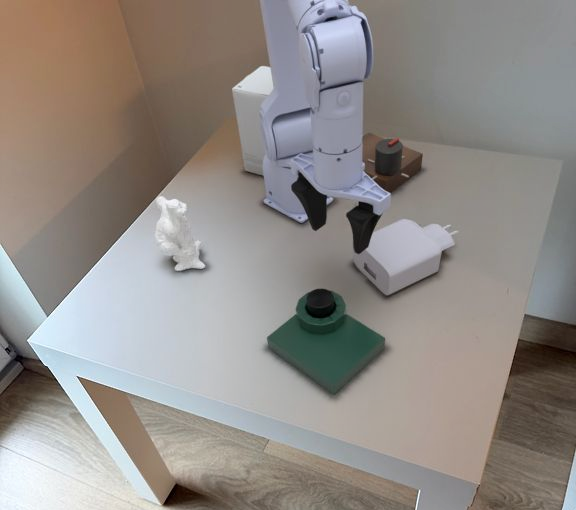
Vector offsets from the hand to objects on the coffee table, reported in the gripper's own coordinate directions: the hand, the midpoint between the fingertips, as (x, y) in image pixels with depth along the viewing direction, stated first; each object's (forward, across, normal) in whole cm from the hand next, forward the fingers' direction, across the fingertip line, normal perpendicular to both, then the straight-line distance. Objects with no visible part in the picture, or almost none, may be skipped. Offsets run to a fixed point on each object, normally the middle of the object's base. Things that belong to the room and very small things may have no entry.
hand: (339, 237), depth 72 cm
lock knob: (+6, +11, -24) cm, 27 cm away
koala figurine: (+9, +23, +11) cm, 27 cm away
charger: (+9, -4, -11) cm, 15 cm away
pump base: (+9, -6, +10) cm, 15 cm away
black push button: (+5, -3, +8) cm, 10 cm away
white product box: (+9, +31, -17) cm, 36 cm away
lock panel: (+9, +14, -25) cm, 30 cm away
